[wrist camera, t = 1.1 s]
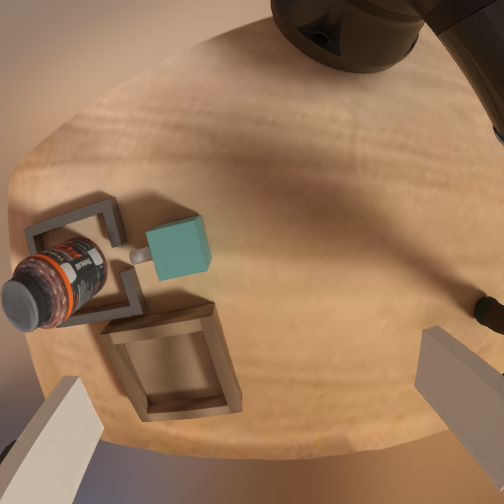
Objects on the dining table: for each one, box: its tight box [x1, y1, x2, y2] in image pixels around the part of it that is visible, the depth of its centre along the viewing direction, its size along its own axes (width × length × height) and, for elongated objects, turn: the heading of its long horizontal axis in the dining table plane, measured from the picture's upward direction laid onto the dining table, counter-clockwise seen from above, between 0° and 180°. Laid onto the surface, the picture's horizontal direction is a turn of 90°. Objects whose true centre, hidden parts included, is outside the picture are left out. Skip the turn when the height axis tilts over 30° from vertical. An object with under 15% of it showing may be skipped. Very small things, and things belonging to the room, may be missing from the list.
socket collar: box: [24, 198, 147, 328], centre depth 27 cm, size 11×11×2 cm
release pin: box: [129, 215, 211, 281], centre depth 25 cm, size 6×4×4 cm, turn 102°
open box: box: [100, 303, 242, 422], centre depth 29 cm, size 11×11×3 cm
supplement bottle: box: [1, 238, 108, 332], centre depth 22 cm, size 6×6×11 cm
